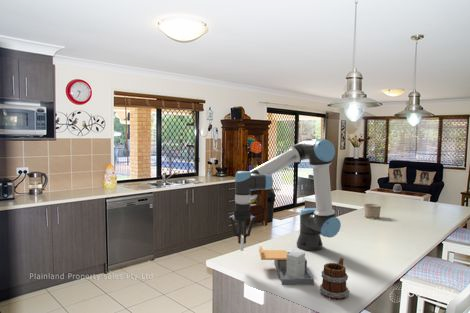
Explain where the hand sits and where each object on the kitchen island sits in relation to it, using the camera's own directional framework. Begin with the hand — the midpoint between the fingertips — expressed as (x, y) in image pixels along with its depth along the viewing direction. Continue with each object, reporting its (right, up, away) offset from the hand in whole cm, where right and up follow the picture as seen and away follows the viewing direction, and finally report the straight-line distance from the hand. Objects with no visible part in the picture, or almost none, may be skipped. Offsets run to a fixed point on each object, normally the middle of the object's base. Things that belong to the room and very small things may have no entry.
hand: (241, 249), depth 166 cm
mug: (+39, -11, -25) cm, 47 cm away
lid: (+16, -3, +1) cm, 16 cm away
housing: (+24, -10, -5) cm, 27 cm away
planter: (+109, -4, +109) cm, 154 cm away
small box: (+25, -9, -11) cm, 28 cm away
